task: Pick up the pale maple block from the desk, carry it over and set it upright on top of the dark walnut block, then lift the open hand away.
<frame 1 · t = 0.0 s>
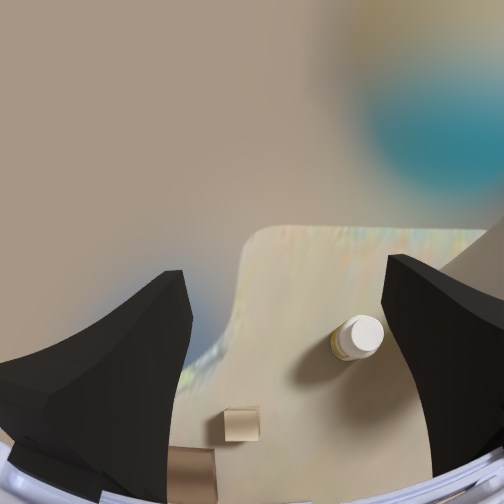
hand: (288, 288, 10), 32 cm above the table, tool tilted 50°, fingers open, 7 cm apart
supplement bottle: (347, 342, 40), on the table
maple block: (244, 420, 36), on the table
walnut block: (186, 472, 34), on the table
cylinder vase: (451, 306, 40), on the table
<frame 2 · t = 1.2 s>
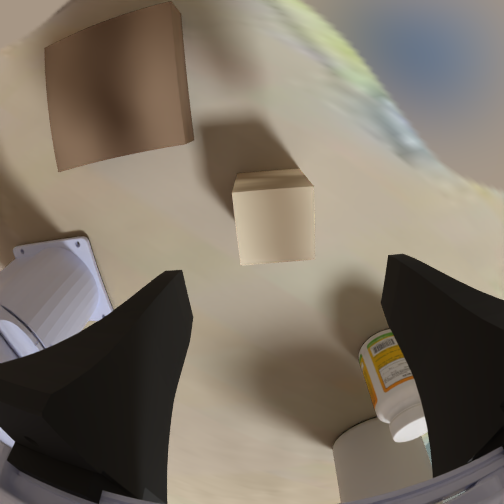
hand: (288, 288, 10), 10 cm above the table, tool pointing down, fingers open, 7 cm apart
supplement bottle: (382, 346, 26), on the table
maple block: (270, 200, 20), on the table
walnut block: (124, 88, 16), on the table
cylinder vase: (373, 433, 34), on the table
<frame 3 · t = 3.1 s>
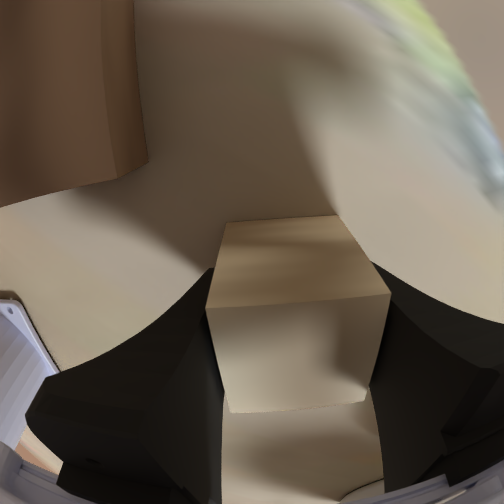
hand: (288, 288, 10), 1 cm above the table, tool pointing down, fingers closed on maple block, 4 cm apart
maple block: (285, 268, 11), on the table, touching gripper
walnut block: (44, 80, 8), on the table
cylinder vase: (385, 486, 26), on the table
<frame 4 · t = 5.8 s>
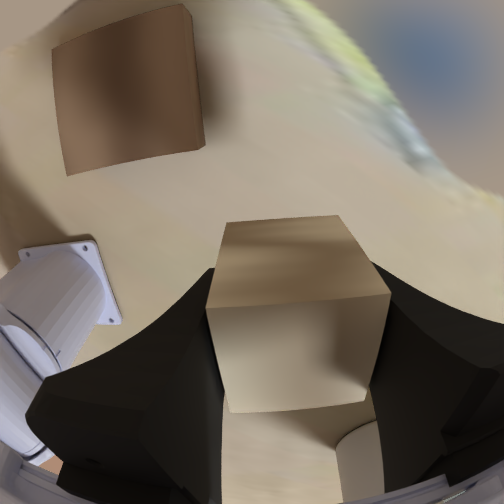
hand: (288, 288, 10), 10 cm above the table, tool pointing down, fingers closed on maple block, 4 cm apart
maple block: (285, 268, 11), point 9 cm above the table, touching gripper
walnut block: (133, 91, 17), on the table
cylinder vase: (376, 435, 34), on the table
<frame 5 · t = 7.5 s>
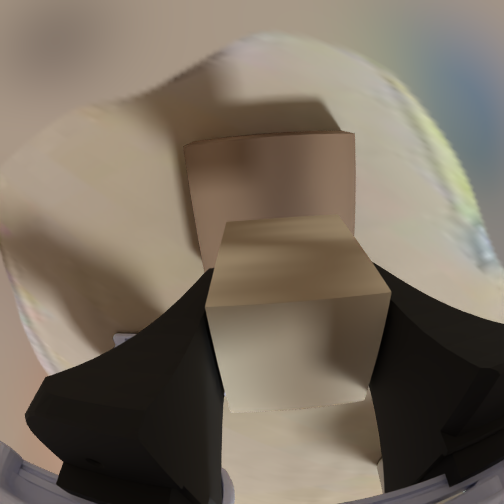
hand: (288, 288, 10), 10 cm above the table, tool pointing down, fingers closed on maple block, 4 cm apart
maple block: (285, 267, 11), point 8 cm above the table, touching gripper
walnut block: (273, 202, 19), on the table
when the fingers open (5 cm above the table, at t = 8.7 s): maple block drops 1 cm, point 3 cm above the table.
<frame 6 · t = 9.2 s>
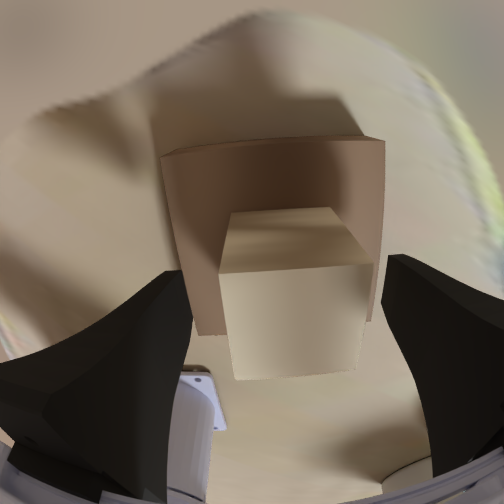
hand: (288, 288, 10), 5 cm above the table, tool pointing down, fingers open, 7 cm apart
maple block: (282, 254, 13), point 3 cm above the table
walnut block: (277, 225, 15), on the table
cylinder vase: (415, 469, 33), on the table
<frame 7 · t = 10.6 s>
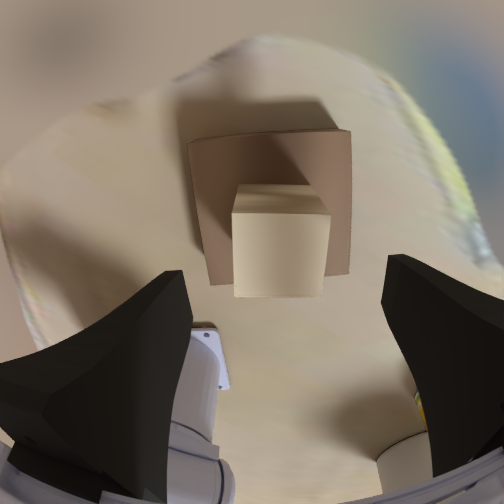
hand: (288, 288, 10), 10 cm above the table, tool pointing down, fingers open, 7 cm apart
maple block: (274, 218, 17), point 2 cm above the table, touching walnut block
walnut block: (273, 198, 20), on the table, touching maple block
cylinder vase: (409, 447, 37), on the table
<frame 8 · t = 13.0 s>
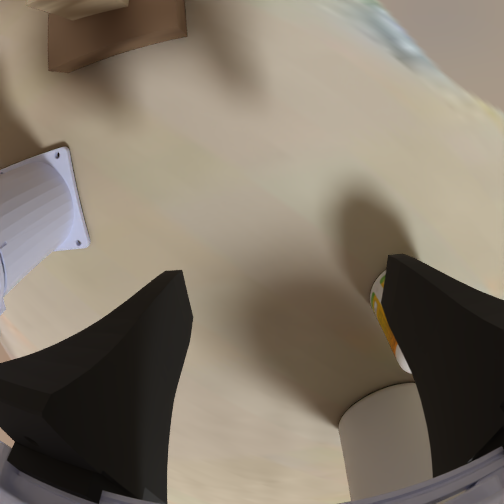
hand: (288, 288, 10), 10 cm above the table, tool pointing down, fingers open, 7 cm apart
supplement bottle: (396, 288, 23), on the table
walnut block: (122, 1, 13), on the table, touching maple block
cylinder vase: (384, 409, 31), on the table
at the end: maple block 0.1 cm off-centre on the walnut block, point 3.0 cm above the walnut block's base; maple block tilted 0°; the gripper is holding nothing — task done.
